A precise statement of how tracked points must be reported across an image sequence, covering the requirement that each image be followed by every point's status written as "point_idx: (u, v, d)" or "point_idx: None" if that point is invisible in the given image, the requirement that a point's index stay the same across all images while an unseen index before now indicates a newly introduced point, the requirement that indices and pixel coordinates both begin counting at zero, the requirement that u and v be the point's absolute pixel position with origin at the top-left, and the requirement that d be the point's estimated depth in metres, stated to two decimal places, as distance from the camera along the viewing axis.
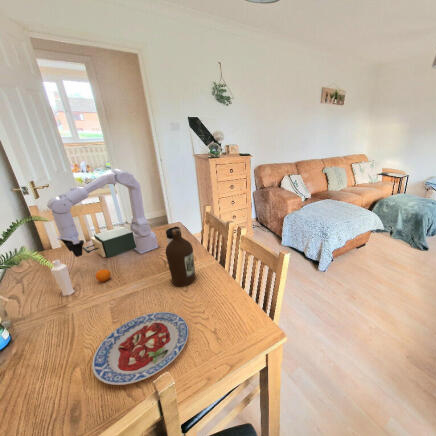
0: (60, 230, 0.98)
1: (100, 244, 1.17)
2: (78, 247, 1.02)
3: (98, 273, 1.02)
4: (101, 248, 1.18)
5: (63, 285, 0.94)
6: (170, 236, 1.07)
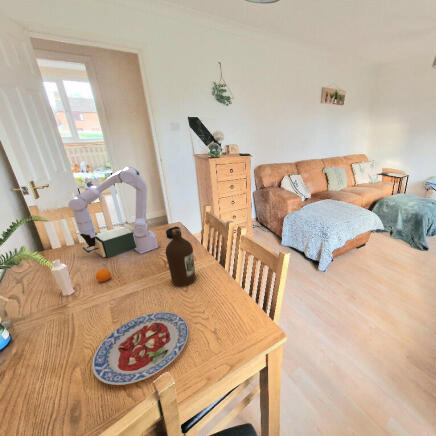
0: (79, 225, 1.12)
1: (100, 244, 1.17)
2: (91, 238, 1.17)
3: (98, 273, 1.02)
4: (101, 248, 1.18)
5: (63, 285, 0.94)
6: (170, 236, 1.07)
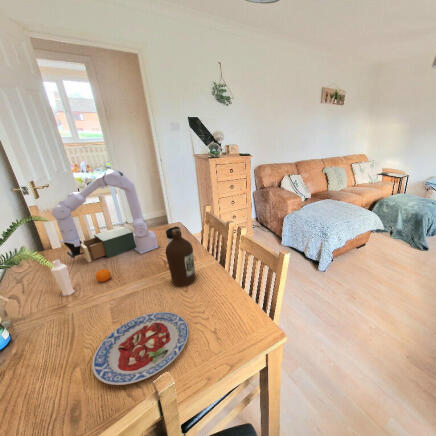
0: (63, 234, 1.07)
1: (85, 249, 1.13)
2: (76, 247, 1.13)
3: (98, 273, 1.02)
4: (86, 253, 1.14)
5: (63, 285, 0.94)
6: (170, 236, 1.07)
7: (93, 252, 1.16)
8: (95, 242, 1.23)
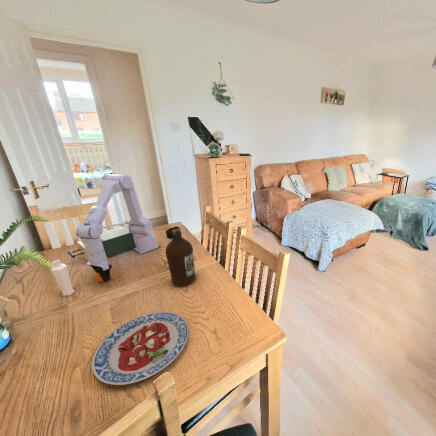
0: (90, 256, 0.97)
1: None
2: (106, 271, 1.01)
3: (98, 273, 1.02)
4: None
5: (63, 285, 0.94)
6: (170, 236, 1.07)
7: None
8: None
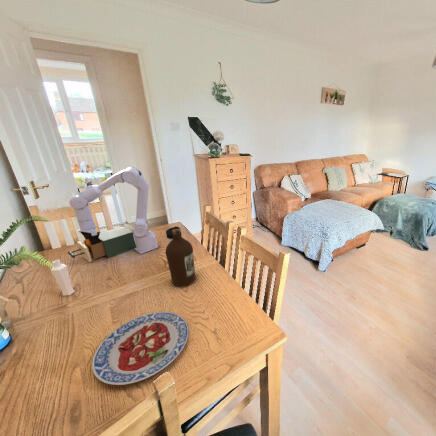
0: (80, 223, 1.12)
1: (86, 249, 1.13)
2: (95, 238, 1.16)
3: (88, 240, 1.17)
4: (87, 253, 1.14)
5: (63, 285, 0.94)
6: (170, 236, 1.07)
7: (93, 252, 1.16)
8: None
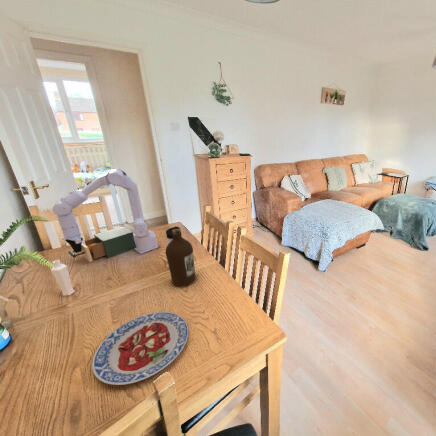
0: (64, 231, 1.08)
1: (86, 248, 1.13)
2: (77, 244, 1.13)
3: (88, 246, 1.18)
4: (88, 252, 1.14)
5: (63, 285, 0.94)
6: (170, 236, 1.07)
7: (94, 252, 1.17)
8: (96, 242, 1.23)
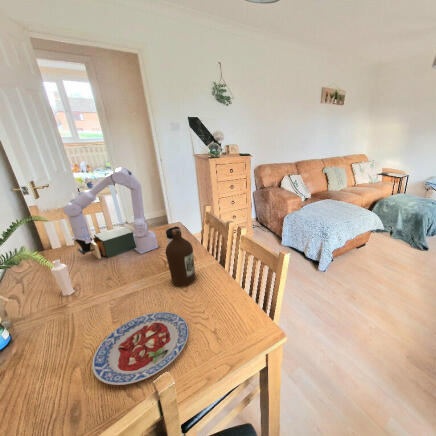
0: (74, 231, 1.11)
1: (95, 245, 1.16)
2: (87, 244, 1.16)
3: None
4: (97, 249, 1.17)
5: (63, 285, 0.94)
6: (170, 236, 1.07)
7: (103, 249, 1.19)
8: None
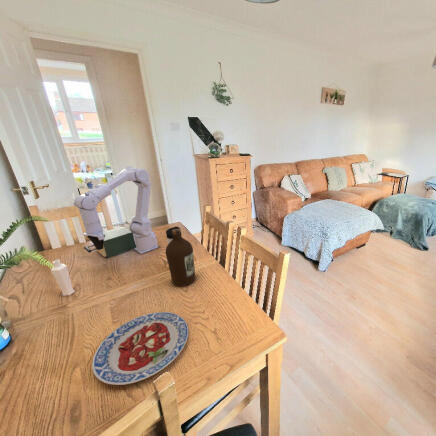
0: (86, 226, 1.02)
1: None
2: (99, 241, 1.08)
3: None
4: None
5: (63, 285, 0.94)
6: (170, 236, 1.07)
7: None
8: None
